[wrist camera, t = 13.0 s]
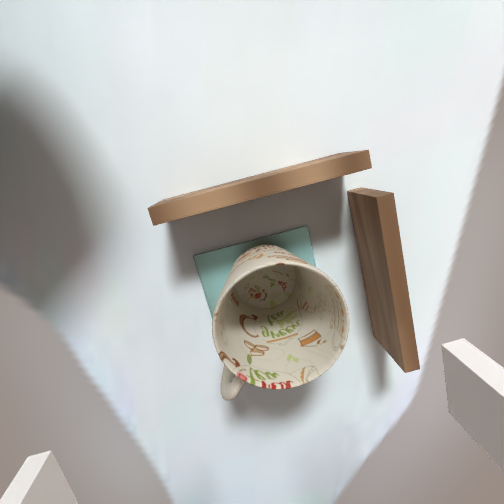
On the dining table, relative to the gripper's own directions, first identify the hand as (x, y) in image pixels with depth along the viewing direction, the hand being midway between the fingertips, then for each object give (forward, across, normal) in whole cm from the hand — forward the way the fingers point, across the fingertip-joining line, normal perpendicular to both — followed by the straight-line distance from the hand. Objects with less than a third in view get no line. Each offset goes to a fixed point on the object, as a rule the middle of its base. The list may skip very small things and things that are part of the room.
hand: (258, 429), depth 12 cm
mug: (+19, +1, -4) cm, 20 cm away
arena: (+20, +4, -2) cm, 20 cm away
